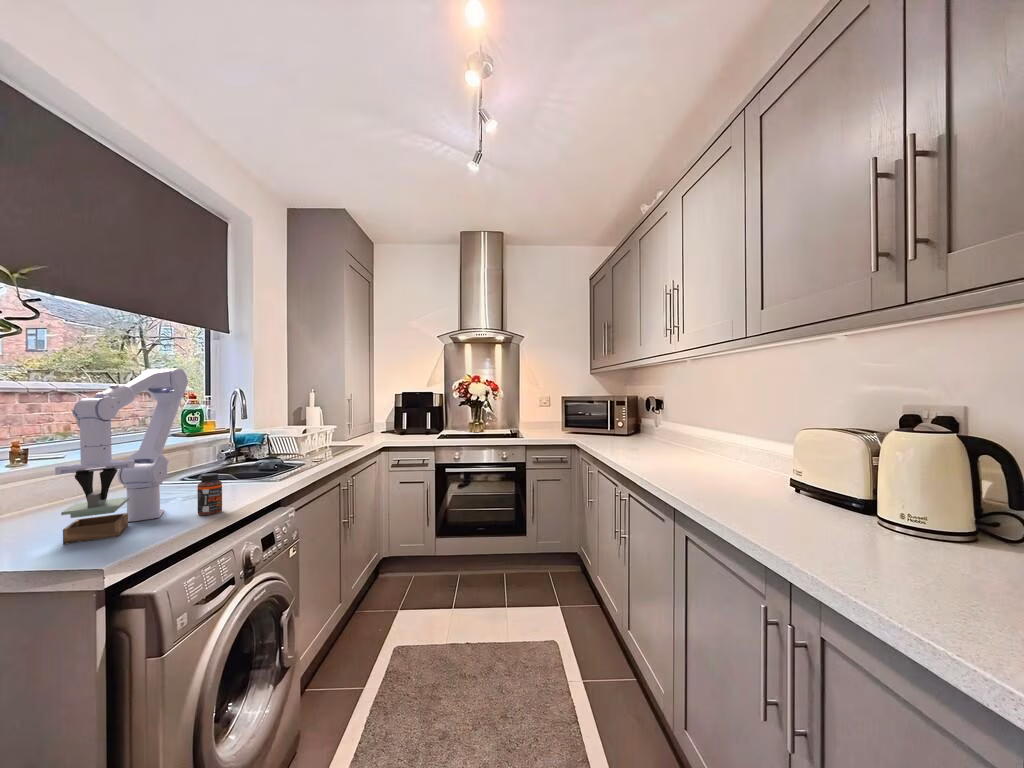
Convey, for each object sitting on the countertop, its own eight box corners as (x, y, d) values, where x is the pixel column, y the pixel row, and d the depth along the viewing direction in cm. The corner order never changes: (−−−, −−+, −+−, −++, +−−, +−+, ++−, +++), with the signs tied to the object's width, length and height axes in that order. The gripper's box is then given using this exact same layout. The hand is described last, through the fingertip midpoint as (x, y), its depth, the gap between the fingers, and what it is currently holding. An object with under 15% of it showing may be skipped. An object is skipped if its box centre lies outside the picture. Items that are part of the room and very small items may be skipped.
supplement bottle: (209, 516, 126) (209, 476, 126) (192, 515, 127) (191, 476, 127) (227, 510, 132) (226, 472, 132) (210, 510, 133) (209, 472, 133)
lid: (76, 510, 114) (75, 491, 114) (129, 504, 119) (128, 485, 119) (61, 520, 105) (61, 499, 105) (119, 513, 110) (118, 493, 110)
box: (77, 533, 114) (76, 519, 114) (128, 526, 119) (127, 512, 119) (62, 544, 105) (62, 529, 105) (118, 536, 110) (118, 522, 110)
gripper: (49, 450, 105) (50, 508, 105) (129, 444, 112) (130, 498, 112) (60, 446, 111) (61, 501, 111) (135, 442, 118) (136, 493, 118)
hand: (97, 499), depth 112 cm, fingers closed on lid
